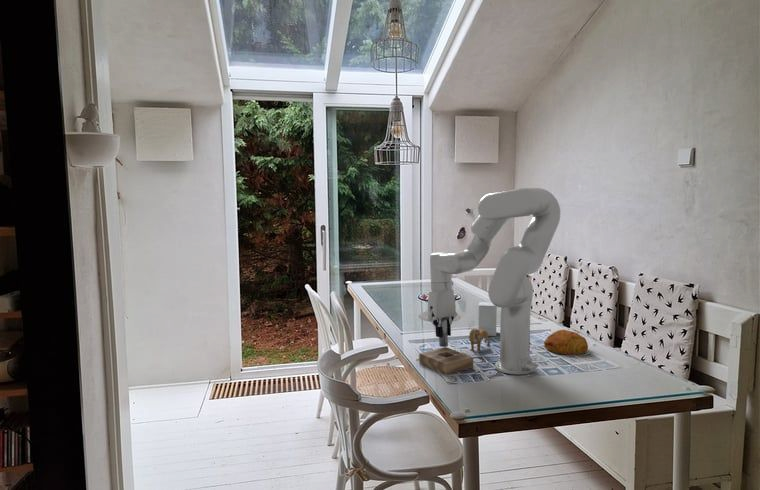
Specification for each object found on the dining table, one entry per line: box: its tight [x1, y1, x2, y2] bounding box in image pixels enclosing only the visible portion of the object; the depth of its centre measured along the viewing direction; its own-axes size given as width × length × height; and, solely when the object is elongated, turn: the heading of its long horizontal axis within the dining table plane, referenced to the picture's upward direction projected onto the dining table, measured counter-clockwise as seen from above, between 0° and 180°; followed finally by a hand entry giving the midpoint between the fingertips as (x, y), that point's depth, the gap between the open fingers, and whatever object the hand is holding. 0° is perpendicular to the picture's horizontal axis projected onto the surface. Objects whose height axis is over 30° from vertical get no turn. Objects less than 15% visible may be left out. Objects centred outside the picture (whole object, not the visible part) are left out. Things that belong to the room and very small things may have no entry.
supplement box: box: [477, 301, 498, 337], centre depth 213 cm, size 7×7×13 cm
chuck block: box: [418, 346, 474, 375], centre depth 175 cm, size 14×12×4 cm
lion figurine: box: [468, 328, 491, 352], centre depth 193 cm, size 15×5×9 cm, turn 152°
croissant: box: [543, 329, 589, 356], centre depth 190 cm, size 14×16×8 cm
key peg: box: [438, 317, 449, 348], centre depth 188 cm, size 4×4×12 cm
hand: (443, 335), depth 188 cm, fingers closed on key peg, 3 cm apart
